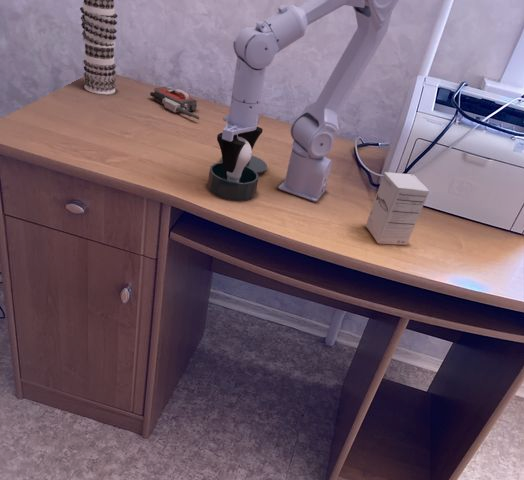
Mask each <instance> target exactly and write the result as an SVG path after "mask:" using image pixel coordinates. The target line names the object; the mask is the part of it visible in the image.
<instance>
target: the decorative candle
mask: <svg viewBox="0 0 524 480" xmlns="http://www.w3.org/2000/svg"><path fill="white" fill-rule="evenodd" d="M79 9H80V12H81V14H82V15H81V17H80V20H81V24H80V26H81V28H82V29H83V30H82V33H81V35H82V37H83V38H82V42H83V43H84V58H83V59H84V60H83V64H84V65H83V70H84V73H83V77H84V80H83V83H84V85H83V86H84V87H83V88H84V89H85V91H88V92H90V93H93V94H97V95H113V94H115V93H116V87H117V86H116V85H117V84H116V76H115V75H116V70H115V69H116V67H117V65H116V63H115V48H116V46H117V45H116V42H115V40H117V36H116V35H115V34H116V33H117V32H118V31H117V29H116V28H115V27H114V26H115V25H117V24H118V21H116V19H117V18H118V14H117V13H115V11H116V9H115V0H83V2H82V6H81V7H79Z"/></svg>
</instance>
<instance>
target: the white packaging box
mask: <svg viewBox="0 0 524 480" xmlns="http://www.w3.org/2000/svg"><path fill="white" fill-rule="evenodd" d="M429 193H430V189H429V188H428V187H426V186H425V184H424V183H422V181H421V180H420V179H419V178H417V176H416V175H415V174H411V173H401V172H390V171H385V172H384V173H383V175H382V178H381V181H380V183H379V186H378V189H377V193H376V195H375V197H374V201H373V203H372V205H371V209H370V211H369V215H368V218H367V220H366V224H365V228H367V230H368V231H369V233H370V234H371V235H372V237H373V238H374V240H375V241H376V243H377V244H382V245H397V246H398V245H399V246H407V245H408V244H409V240H410V238H411V236H412V233H413V230H414V229H415V226H416V224H417V221H418V219H419V217H420V215H421V212H422V210H423V207H424V205H425V203H426V200H427V199H428V195H429Z"/></svg>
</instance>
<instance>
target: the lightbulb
mask: <svg viewBox="0 0 524 480" xmlns="http://www.w3.org/2000/svg"><path fill="white" fill-rule="evenodd" d="M237 138H238V140H240V141H243V142H245V145H244V146H243V148H242V150H241V151H240V154H239V156H238V159H237V163H236V167H235V169H234V172H233V173H231V172H228V171H227V180H228V181H232V182H237V183H239V178H240V177H241V174H242V171H243V169H244V167H245V166H246V165H247V164H248V162H249V161H250V159H251V156H253V149H251V146H250V144H249V142H248V141H247V140H245V139H244V138H242V137H238V136H237Z"/></svg>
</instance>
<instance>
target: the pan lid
mask: <svg viewBox="0 0 524 480" xmlns="http://www.w3.org/2000/svg"><path fill="white" fill-rule="evenodd" d="M220 162H222V157H221V158H220ZM246 166H247V167H249V168H251V169H253V170H254V171H255V172H256V173H257V174H258V175H261V174H264V173H266V171H267V170H268V165H267V163H266V162H265V161H264V160H262V159H261V158H260V157H258V156H255V155H252V156H251V159H250V161H249V162H248V164H247V165H246Z"/></svg>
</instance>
